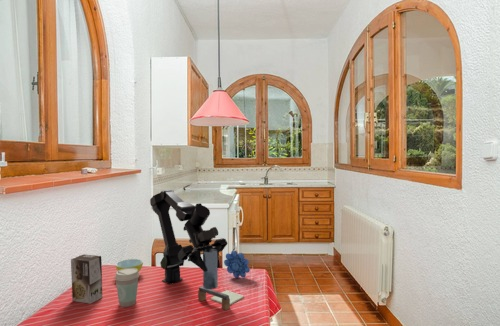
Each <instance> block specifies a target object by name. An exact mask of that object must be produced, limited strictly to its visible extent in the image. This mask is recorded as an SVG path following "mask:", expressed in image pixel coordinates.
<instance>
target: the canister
mask: <svg viewBox="0 0 500 326" xmlns="http://www.w3.org/2000/svg"><path fill="white" fill-rule="evenodd" d="M202 260H203V262H204V264H205V266H206V269H207V271H206V272H204V271H203V270H202V287H203V288H205V289H211V290H215V289H217V288H218V286H219V285H218V282H219V280H218V279H219V277H218V275H219V274H218V269H219V268H217V250H216V249H205V250H203V252H202Z"/></svg>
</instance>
